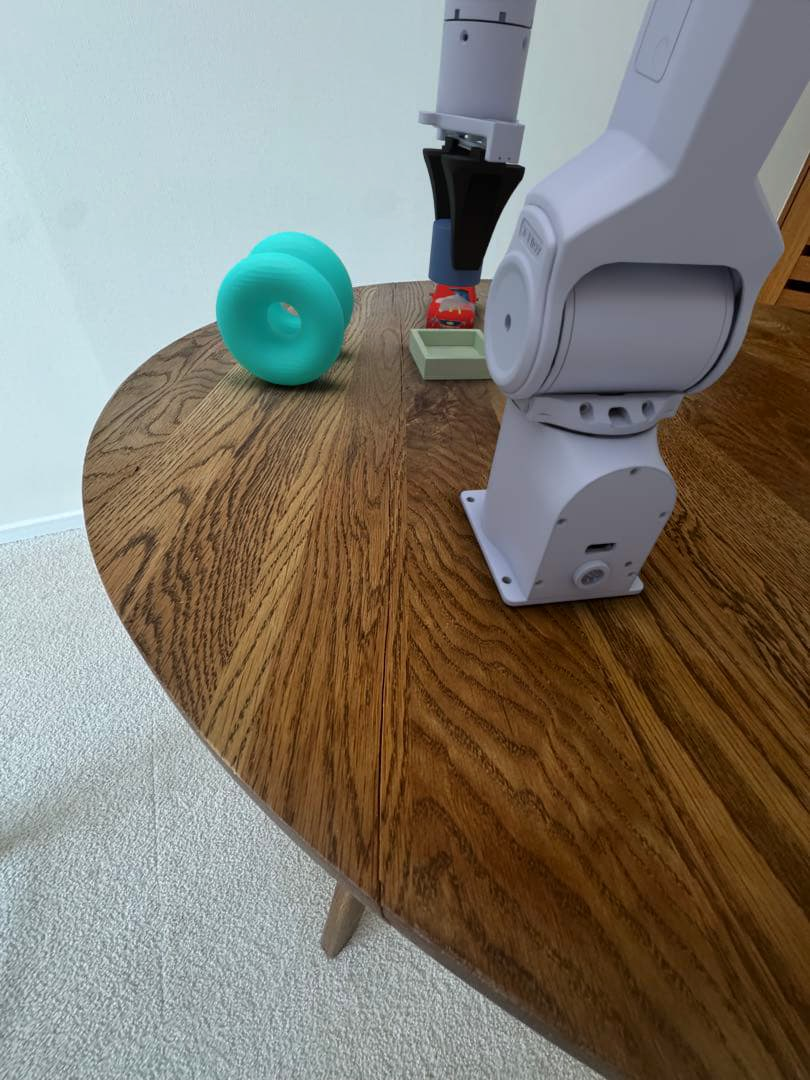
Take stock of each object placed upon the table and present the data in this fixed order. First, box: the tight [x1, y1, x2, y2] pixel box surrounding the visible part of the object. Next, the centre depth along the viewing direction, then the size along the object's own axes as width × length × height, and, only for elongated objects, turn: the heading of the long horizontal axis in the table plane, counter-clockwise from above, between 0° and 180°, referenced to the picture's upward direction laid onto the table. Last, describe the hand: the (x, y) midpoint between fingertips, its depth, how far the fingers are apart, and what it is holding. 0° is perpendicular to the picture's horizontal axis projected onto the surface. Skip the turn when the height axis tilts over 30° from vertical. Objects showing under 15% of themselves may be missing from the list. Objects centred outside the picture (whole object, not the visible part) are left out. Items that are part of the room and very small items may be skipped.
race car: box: [425, 283, 480, 329], centre depth 57 cm, size 13×5×4 cm, turn 171°
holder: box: [408, 328, 493, 381], centre depth 48 cm, size 7×7×2 cm
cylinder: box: [427, 219, 485, 287], centre depth 41 cm, size 4×4×4 cm
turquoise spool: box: [215, 231, 355, 386], centre depth 42 cm, size 10×10×10 cm
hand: (457, 260), depth 42 cm, fingers closed on cylinder, 4 cm apart
